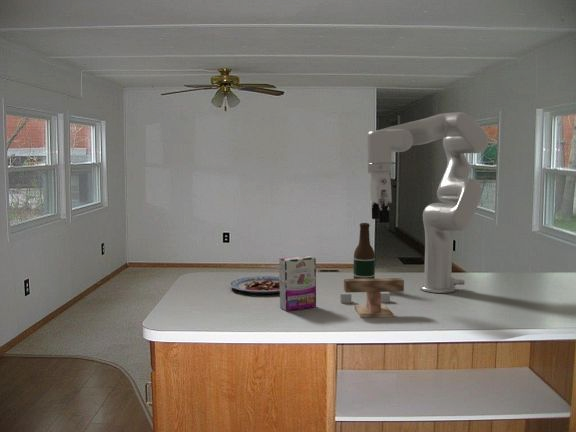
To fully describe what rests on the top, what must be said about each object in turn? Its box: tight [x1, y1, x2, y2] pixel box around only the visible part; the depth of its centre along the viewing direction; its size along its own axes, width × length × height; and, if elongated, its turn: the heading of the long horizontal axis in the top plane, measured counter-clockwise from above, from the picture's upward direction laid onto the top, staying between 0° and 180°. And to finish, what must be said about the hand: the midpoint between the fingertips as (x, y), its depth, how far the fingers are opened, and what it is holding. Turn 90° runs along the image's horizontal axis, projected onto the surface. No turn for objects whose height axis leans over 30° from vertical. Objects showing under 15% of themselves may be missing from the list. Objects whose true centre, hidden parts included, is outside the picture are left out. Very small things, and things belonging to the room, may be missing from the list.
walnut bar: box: [343, 277, 405, 293], centre depth 179 cm, size 18×4×4 cm, turn 94°
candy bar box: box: [278, 255, 317, 312], centre depth 186 cm, size 11×5×16 cm, turn 117°
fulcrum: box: [354, 292, 394, 318], centre depth 180 cm, size 10×10×7 cm
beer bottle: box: [353, 222, 376, 279], centre depth 215 cm, size 8×8×24 cm
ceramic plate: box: [229, 275, 280, 295], centre depth 215 cm, size 26×26×3 cm
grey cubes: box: [339, 291, 391, 304], centre depth 194 cm, size 16×2×3 cm, turn 94°
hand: (380, 220), depth 190 cm, fingers open, 9 cm apart
